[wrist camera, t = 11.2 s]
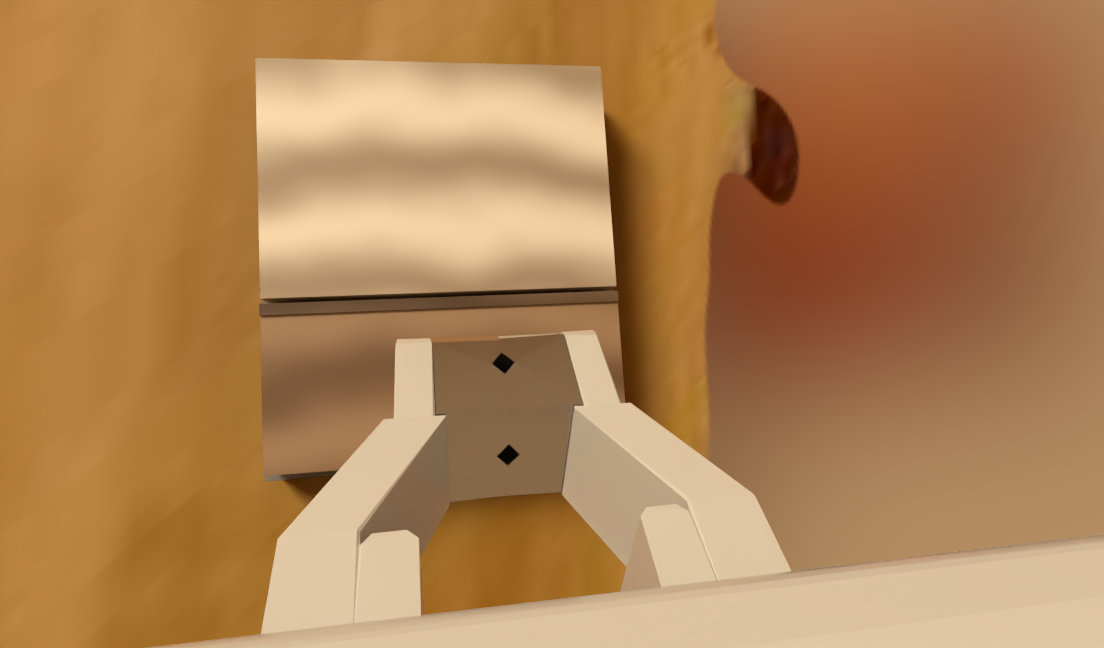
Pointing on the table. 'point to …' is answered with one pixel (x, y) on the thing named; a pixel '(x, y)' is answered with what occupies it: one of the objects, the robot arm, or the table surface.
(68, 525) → the table surface
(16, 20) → the table surface
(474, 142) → the plank
